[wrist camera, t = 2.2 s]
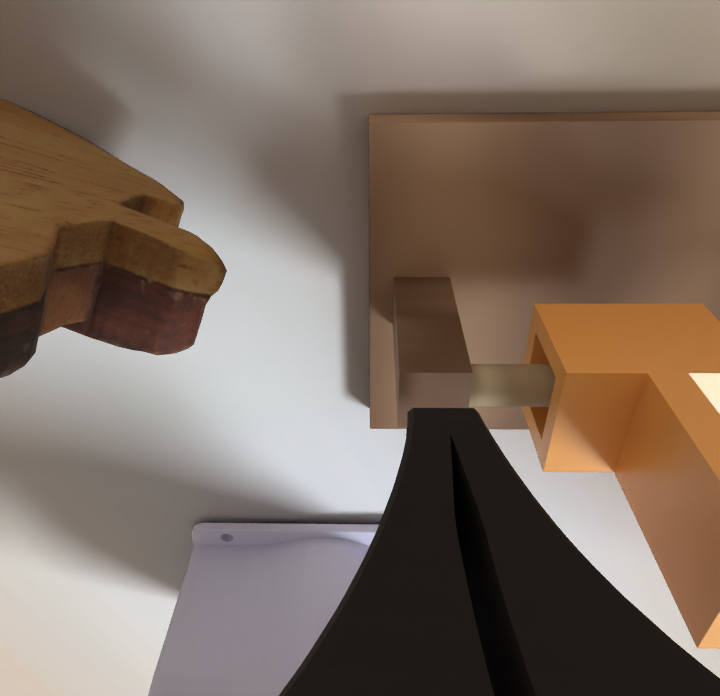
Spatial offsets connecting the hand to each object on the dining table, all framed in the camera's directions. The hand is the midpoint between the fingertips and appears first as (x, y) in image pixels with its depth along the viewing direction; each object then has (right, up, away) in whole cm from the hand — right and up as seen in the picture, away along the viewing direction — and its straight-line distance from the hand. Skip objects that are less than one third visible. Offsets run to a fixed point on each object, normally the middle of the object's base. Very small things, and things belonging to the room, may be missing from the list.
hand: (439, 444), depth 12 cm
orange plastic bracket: (+5, +2, +3) cm, 6 cm away
